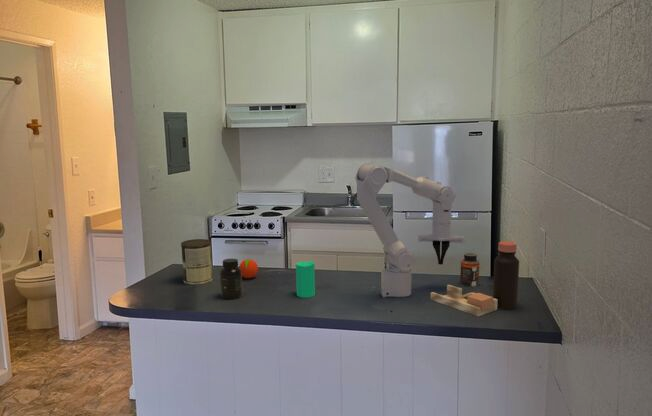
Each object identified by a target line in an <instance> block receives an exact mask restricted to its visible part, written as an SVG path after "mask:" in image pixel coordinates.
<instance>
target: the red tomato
mask: <svg viewBox="0 0 652 416" xmlns="http://www.w3.org/2000/svg"><path fill="white" fill-rule="evenodd" d="M238 267H239V268H240V269H241V271H242V278H244V279H252V278H254V277H256V275H257V274H258V271H259V266H258V263H257V262H256V260H253V259H250V258H246V259H244V260H242V261H241V262H240V264H239V265H238Z"/></svg>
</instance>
